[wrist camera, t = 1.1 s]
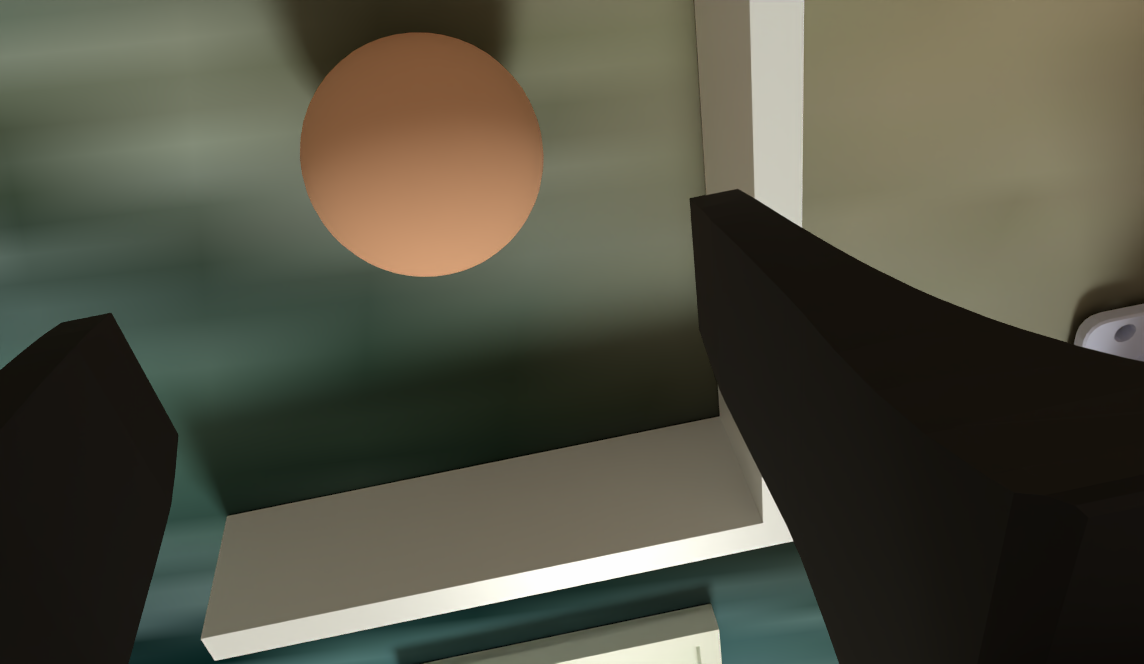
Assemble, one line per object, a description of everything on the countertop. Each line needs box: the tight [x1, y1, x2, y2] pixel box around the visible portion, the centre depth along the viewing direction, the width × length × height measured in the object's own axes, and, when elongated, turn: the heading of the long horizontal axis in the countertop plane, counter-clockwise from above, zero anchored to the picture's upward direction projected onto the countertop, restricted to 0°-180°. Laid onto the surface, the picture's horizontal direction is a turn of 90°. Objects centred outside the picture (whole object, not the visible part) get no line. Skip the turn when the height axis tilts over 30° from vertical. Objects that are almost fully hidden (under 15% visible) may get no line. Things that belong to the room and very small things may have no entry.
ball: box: [300, 32, 543, 277], centre depth 16 cm, size 4×4×4 cm
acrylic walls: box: [201, 0, 804, 661], centre depth 17 cm, size 13×14×4 cm
